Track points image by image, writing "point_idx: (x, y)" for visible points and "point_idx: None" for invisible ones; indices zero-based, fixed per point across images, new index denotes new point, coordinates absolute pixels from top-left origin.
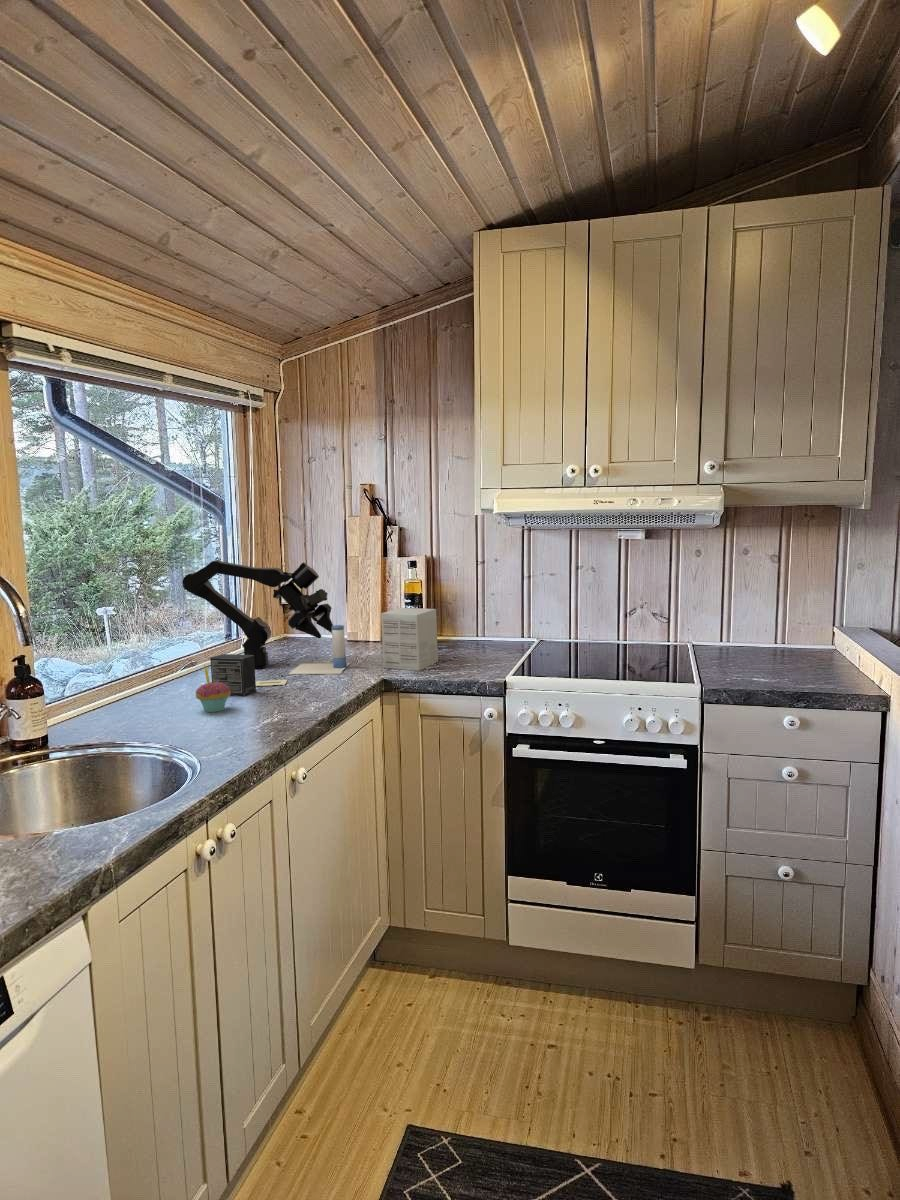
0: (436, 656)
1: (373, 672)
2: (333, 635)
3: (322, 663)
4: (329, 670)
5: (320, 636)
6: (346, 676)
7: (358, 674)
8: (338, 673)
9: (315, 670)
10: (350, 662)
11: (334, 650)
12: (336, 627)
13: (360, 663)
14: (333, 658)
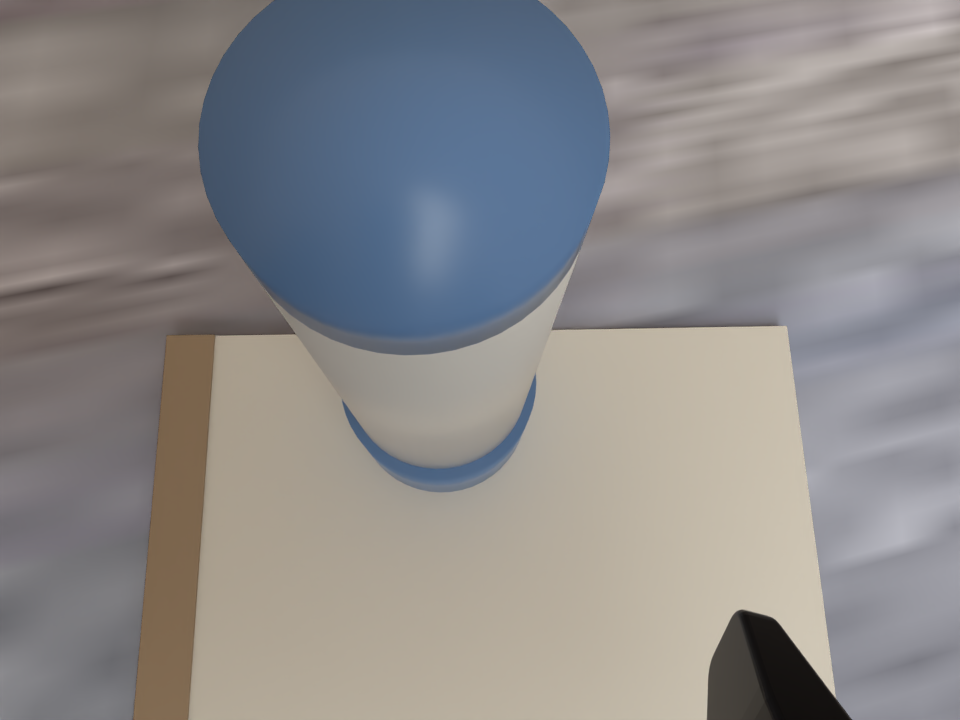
0: None
1: (664, 21)
2: (541, 332)
3: (195, 713)
4: (654, 491)
5: (772, 632)
6: (872, 244)
7: (766, 143)
8: (787, 348)
9: (658, 686)
10: (186, 336)
11: (521, 405)
12: (602, 134)
13: (180, 231)
14: (502, 454)
